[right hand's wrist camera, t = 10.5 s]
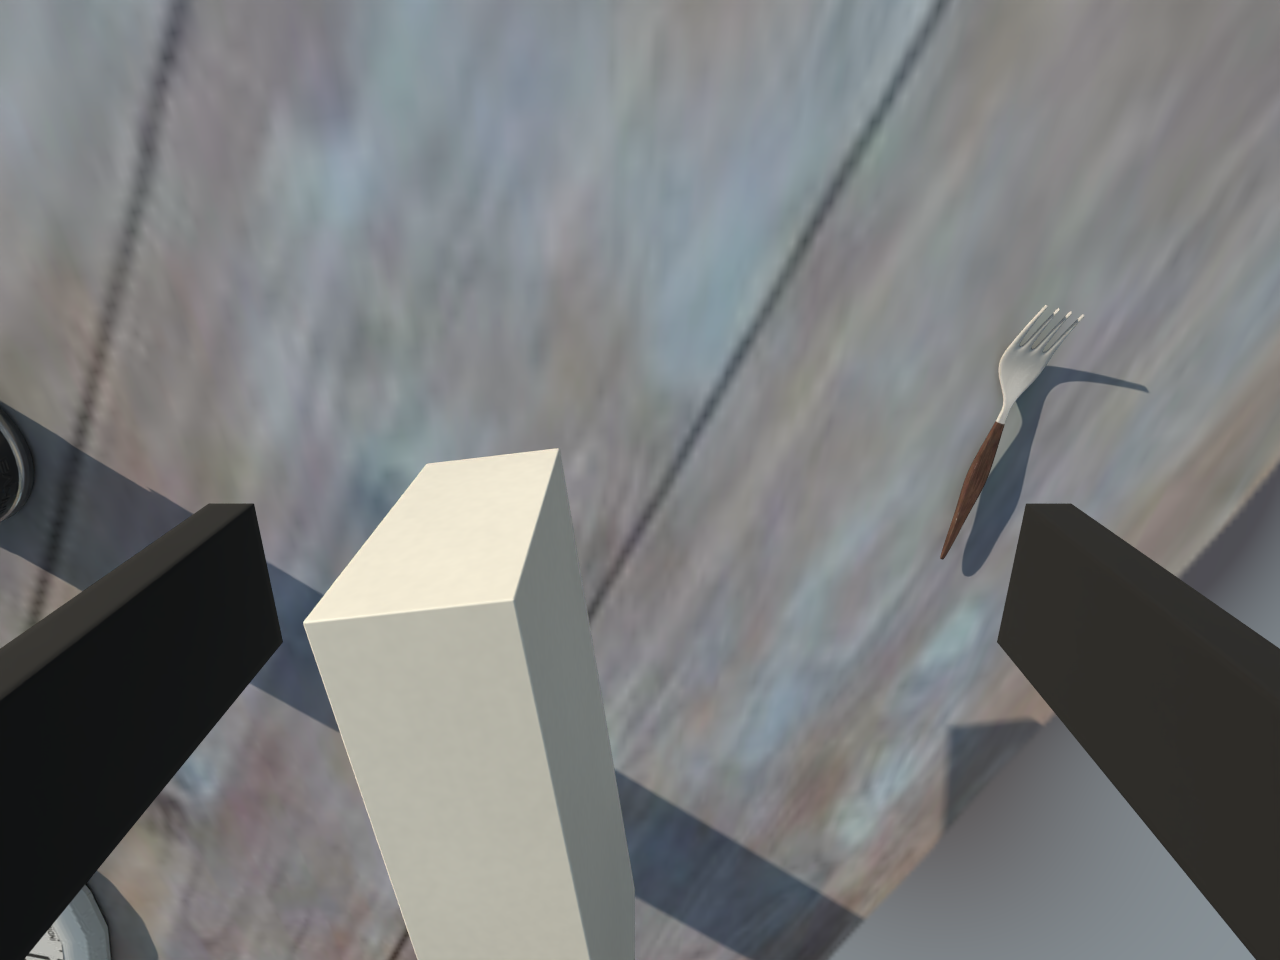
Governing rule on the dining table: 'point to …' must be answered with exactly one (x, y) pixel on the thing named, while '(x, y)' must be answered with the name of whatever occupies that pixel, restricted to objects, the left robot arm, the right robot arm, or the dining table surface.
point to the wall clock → (75, 933)
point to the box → (481, 717)
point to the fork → (1005, 410)
